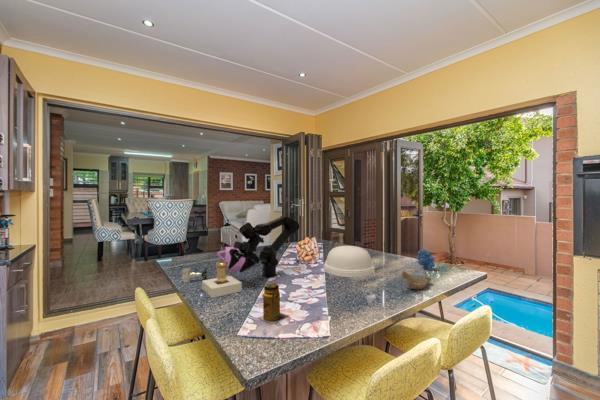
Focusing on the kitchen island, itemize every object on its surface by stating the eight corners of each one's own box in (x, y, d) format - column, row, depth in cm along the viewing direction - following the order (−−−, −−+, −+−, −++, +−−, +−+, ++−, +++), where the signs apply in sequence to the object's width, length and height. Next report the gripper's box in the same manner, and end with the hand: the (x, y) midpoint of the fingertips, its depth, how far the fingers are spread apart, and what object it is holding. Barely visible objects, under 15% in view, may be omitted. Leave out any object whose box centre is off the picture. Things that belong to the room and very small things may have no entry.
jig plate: (230, 283, 138) (230, 275, 138) (241, 291, 127) (241, 282, 127) (201, 289, 130) (201, 280, 130) (211, 297, 119) (211, 288, 118)
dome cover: (313, 272, 160) (313, 248, 159) (335, 261, 185) (335, 240, 185) (366, 281, 142) (366, 254, 142) (382, 268, 168) (382, 245, 167)
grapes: (412, 268, 168) (412, 248, 167) (419, 266, 171) (419, 247, 171) (430, 272, 158) (430, 252, 157) (436, 270, 161) (437, 250, 161)
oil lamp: (395, 289, 130) (396, 268, 130) (422, 281, 142) (422, 262, 142) (412, 294, 123) (412, 272, 123) (438, 286, 135) (438, 266, 134)
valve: (181, 284, 137) (206, 281, 141) (181, 271, 137) (206, 269, 141) (183, 280, 144) (207, 278, 147) (183, 267, 144) (207, 266, 147)
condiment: (258, 318, 99) (258, 285, 99) (274, 310, 106) (274, 280, 105) (272, 324, 94) (272, 290, 94) (288, 316, 101) (288, 284, 101)
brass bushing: (227, 287, 132) (227, 260, 131) (227, 291, 126) (227, 263, 126) (215, 288, 130) (215, 261, 130) (215, 292, 125) (215, 264, 125)
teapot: (259, 269, 165) (259, 246, 165) (216, 272, 159) (216, 248, 158) (256, 263, 180) (256, 241, 180) (217, 265, 173) (217, 243, 173)
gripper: (231, 233, 143) (213, 258, 135) (255, 236, 131) (236, 264, 123) (244, 245, 150) (227, 270, 142) (267, 250, 138) (250, 277, 129)
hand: (234, 270), depth 134 cm, fingers open, 9 cm apart
